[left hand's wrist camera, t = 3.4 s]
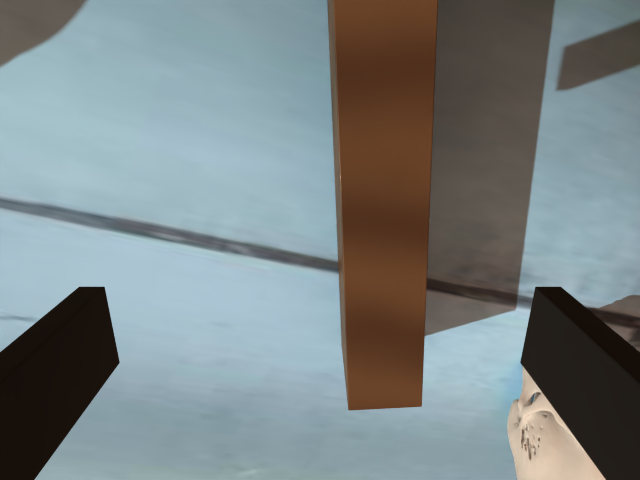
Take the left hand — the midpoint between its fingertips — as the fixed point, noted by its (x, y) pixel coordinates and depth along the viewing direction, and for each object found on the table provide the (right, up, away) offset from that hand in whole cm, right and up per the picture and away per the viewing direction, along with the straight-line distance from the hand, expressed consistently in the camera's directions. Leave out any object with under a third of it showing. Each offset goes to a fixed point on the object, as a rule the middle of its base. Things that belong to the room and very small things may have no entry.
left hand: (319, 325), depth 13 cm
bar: (+2, +28, +9) cm, 30 cm away
